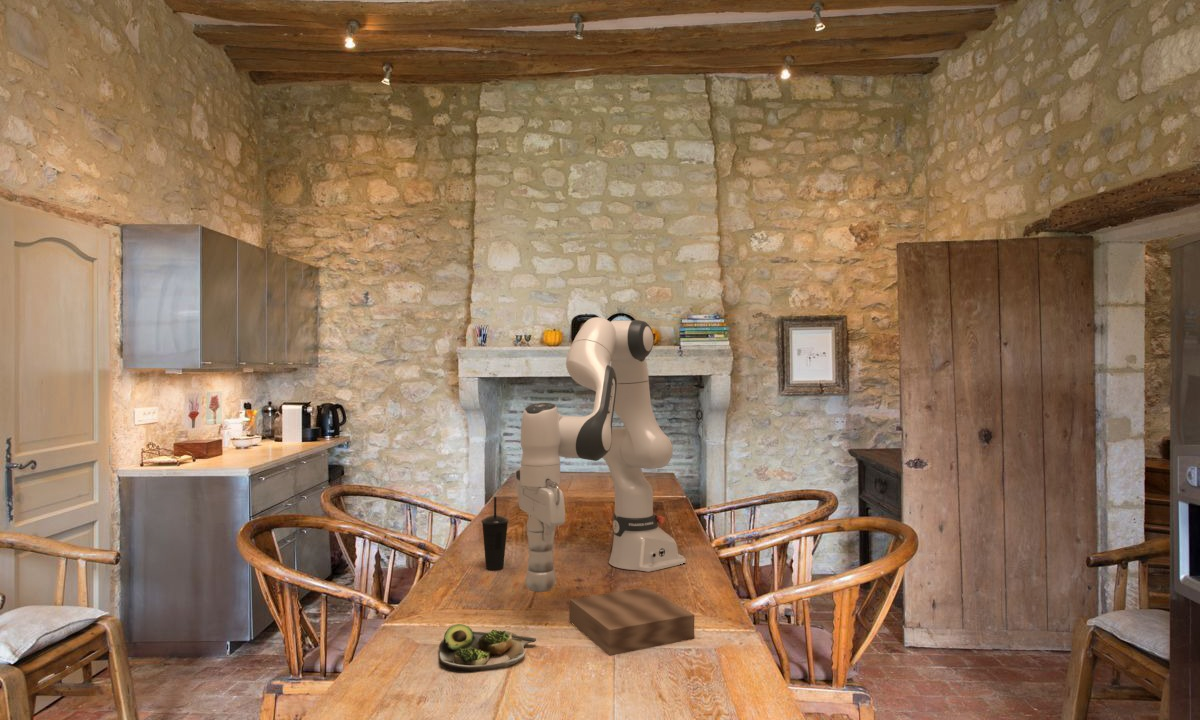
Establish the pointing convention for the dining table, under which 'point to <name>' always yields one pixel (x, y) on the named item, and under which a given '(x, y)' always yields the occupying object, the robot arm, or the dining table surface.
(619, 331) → the robot arm
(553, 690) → the dining table surface
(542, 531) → the plastic bottle
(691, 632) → the walnut base
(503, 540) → the drinking cup
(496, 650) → the avocado toast plate
